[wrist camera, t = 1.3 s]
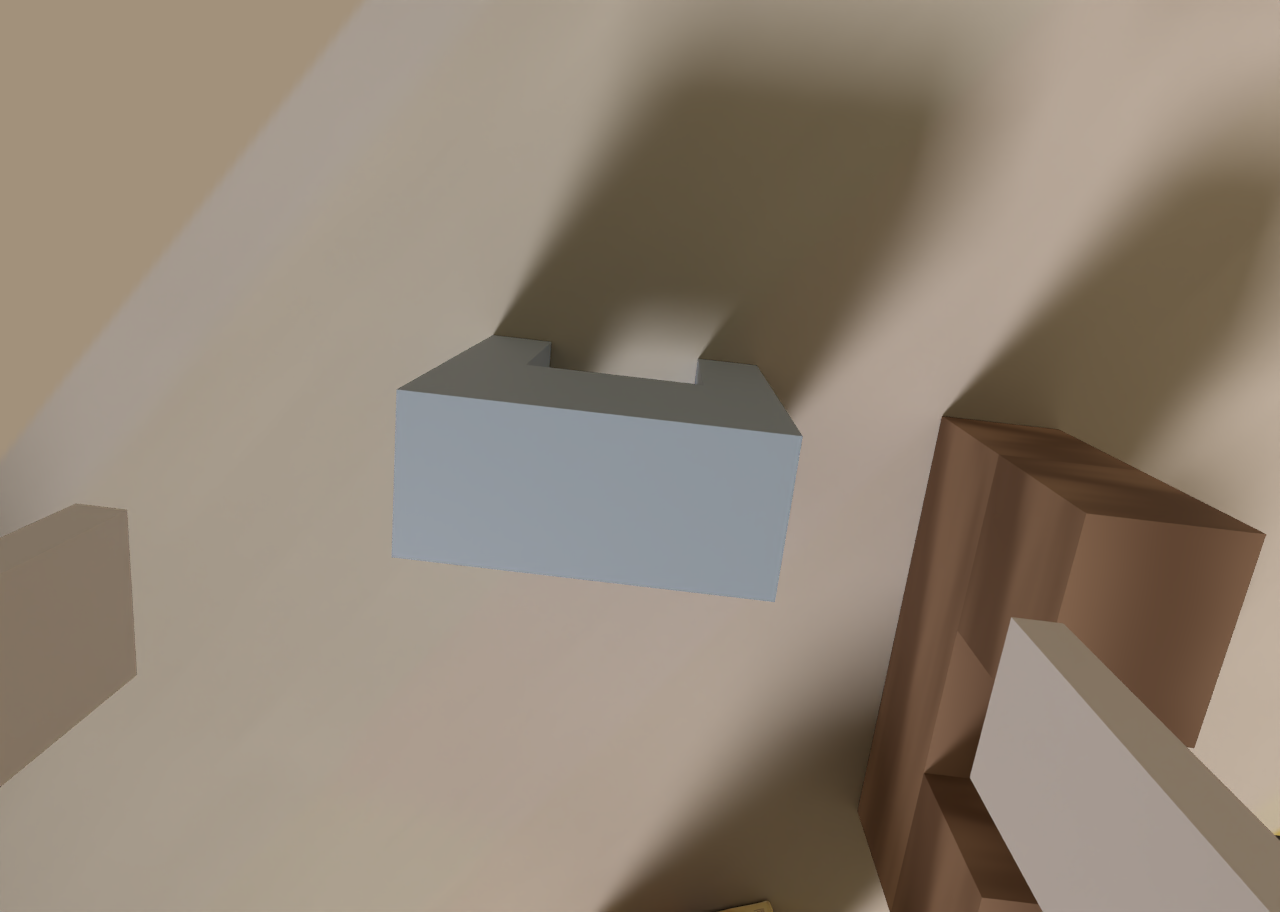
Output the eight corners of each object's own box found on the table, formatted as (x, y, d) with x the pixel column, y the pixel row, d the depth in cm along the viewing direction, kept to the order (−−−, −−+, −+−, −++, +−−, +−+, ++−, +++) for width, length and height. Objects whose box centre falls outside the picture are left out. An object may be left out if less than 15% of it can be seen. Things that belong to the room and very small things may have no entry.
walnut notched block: (857, 811, 32) (937, 1060, 22) (942, 416, 28) (1086, 513, 18) (958, 823, 32) (1083, 1077, 22) (1059, 429, 28) (1265, 534, 18)
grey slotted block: (486, 448, 29) (391, 557, 19) (492, 335, 28) (397, 389, 18) (739, 477, 29) (774, 601, 19) (756, 365, 27) (802, 436, 18)
